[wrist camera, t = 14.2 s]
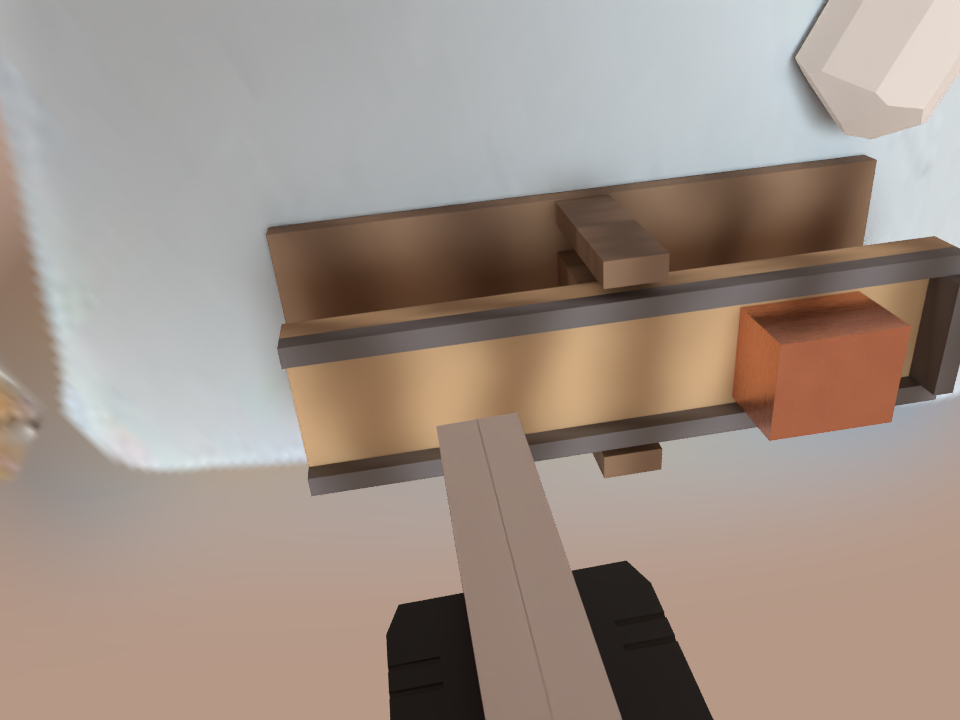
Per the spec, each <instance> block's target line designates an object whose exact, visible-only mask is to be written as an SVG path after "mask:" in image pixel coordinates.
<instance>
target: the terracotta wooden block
mask: <svg viewBox="0 0 960 720" xmlns="http://www.w3.org/2000/svg"><path fill="white" fill-rule="evenodd" d="M911 327H912V326H910V325H909V324H907V323H906V322H904V321H903V320H901V319H900V318H898V317H897V316H895V315H894V314H893V313H891V312H890V311H888V310H887V309H885V308H884V307H882V306H881V305H879V304H878V303H876V302H875V301H873V300H872V299H870V298H869V297H867V296H866V295H864V294H863V293H861V292H860V291H856V292H849V293H841V294H834V295H827V296H819V297H812V298H805V299H797V300H790V301H783V302H775V303H768V304H761V305H753V306H746V307H740V317H739V327H738V338H737V349H736V360H735V370H734V381H733V392H732V397H733V399H734V400H735V401H736V402H737V403H738V404H739V406H740V407H741V408H742V409H743V410H744V412H745V413H746V414H747V415H748V416H749V417H750V419H751V420H752V421H753V422H754V423H755V424H756V426H757V427H758V428H759V429H760V430H761V431H762V433H763V434H764V435H765V436H766V437H767V438H768V440H770V441H771V440H777V439H783V438H790V437H797V436H803V435H810V434H816V433H823V432H830V431H836V430H843V429H849V428H856V427H862V426H868V425H875V424H882V423H888V422H891V421H892V416H893V411H894V407H895V402H896V398H897V393H898V388H899V384H900V379H901V374H902V369H903V365H904V360H905V355H906V351H907V346H908V341H909V336H910V332H911Z"/></svg>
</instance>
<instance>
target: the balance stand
mask: <svg viewBox="0 0 960 720" xmlns="http://www.w3.org/2000/svg"><path fill="white" fill-rule="evenodd" d="M876 162H877V160H876V159H873V158H871V157H868V156H866V155H861V156H852V157H844V158H836V159H828V160H820V161H811V162H803V163H795V164H787V165H779V166H771V167H762V168H754V169H746V170H738V171H730V172H721V173H713V174H705V175H697V176H689V177H681V178H672V179H664V180H656V181H648V182H640V183H631V184H623V185H615V186H607V187H599V188H590V189H582V190H574V191H566V192H558V193H550V194H541V195H533V196H525V197H517V198H509V199H500V200H492V201H484V202H476V203H468V204H460V205H451V206H443V207H435V208H427V209H419V210H410V211H402V212H394V213H386V214H378V215H369V216H361V217H353V218H345V219H337V220H329V221H320V222H312V223H304V224H296V225H288V226H279V227H271V228H268V231H267V234H266V236H267V241H268V245H269V250H270V254H271V259H272V263H273V268H274V272H275V277H276V281H277V286H278V290H279V294H280V299H281V303H282V308H283V312H284V317H285V321H286V324H287V323H294V322H302V321H309V320H317V319H324V318H331V317H339V316H346V315H354V314H361V313H368V312H376V311H383V310H391V309H398V308H406V307H413V306H420V305H428V304H435V303H443V302H450V301H458V300H465V299H472V298H480V297H487V296H495V295H502V294H510V293H517V292H524V291H532V290H539V289H547V288H554V287H562V286H569V285H576V284H584V283H591V282H599V284H600V285H601V286H602V288H603V289H609V288H616V287H624V286H631V285H639V284H646V283H653V282H661V281H668V280H669V272H673V271H680V270H688V269H695V268H703V267H710V266H717V265H725V264H732V263H740V262H747V261H755V260H762V259H769V258H777V257H784V256H792V255H799V254H807V253H814V252H821V251H829V250H836V249H844V248H851V247H858V246H863V241H864V235H865V228H866V222H867V216H868V210H869V204H870V198H871V192H872V186H873V180H874V174H875V168H876ZM593 455H594V457H595V459H596V461H597V463H598V466H599V468H600V470H601V472H602V474H603V476H604V478H609V477H615V476H622V475H628V474H634V473H640V472H647V471H654V470H660V469H661V462H662V448H661V446H660V444H659V443H651V444H645V445H638V446H632V447H625V448H619V449H612V450H606V451H600V452H593Z"/></svg>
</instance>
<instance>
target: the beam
mask: <svg viewBox="0 0 960 720" xmlns="http://www.w3.org/2000/svg"><path fill="white" fill-rule="evenodd" d="M856 291H860V292H861V293H863V294H864V295H866V296H867V297H869V298H870V299H872V300H873V301H875V302H876V303H878V304H879V305H881V306H882V307H884V308H885V309H887V310H888V311H890V312H891V313H893V314H894V315H895V316H897V317H898V318H900V319H901V320H903V321H904V322H906V323H907V324H909V325H910V326H912V327H911V332H910V336H909V341H908V346H907V351H906V355H905V360H904V365H903V369H902V374H901V379H900V384H899V388H898V393H897V398H896V402H895V406H896V405H903V404H909V403H916V402H922V401H928V400H935V399H936V395H940V394H947V393H953V389H954V385H955V381H956V377H957V373H958V369H959V365H960V249H959V248H957V247H955V246H953V245H951V244H949V243H947V242H945V241H943V240H941V239H939V238H937V237H935V236H933V237H925V238H918V239H910V240H903V241H896V242H888V243H881V244H873V245H866V246H858V247H851V248H844V249H836V250H829V251H821V252H814V253H807V254H799V255H792V256H784V257H777V258H769V259H762V260H755V261H747V262H740V263H732V264H725V265H717V266H710V267H703V268H695V269H688V270H680V271H673V272H669V280H668V281H661V282H653V283H646V284H639V285H631V286H624V287H616V288H609V289H603V288H602V286H601V285H600V284H599V282H591V283H584V284H576V285H569V286H562V287H554V288H547V289H539V290H532V291H524V292H517V293H510V294H502V295H495V296H487V297H480V298H472V299H465V300H458V301H450V302H443V303H435V304H428V305H420V306H413V307H406V308H398V309H391V310H383V311H376V312H368V313H361V314H354V315H346V316H339V317H331V318H324V319H317V320H309V321H302V322H294V323H287V324H282V326H281V331H280V337H279V342H278V348H277V350H278V354H279V358H280V363H281V367H282V369H286V370H287V375H288V379H289V383H290V388H291V392H292V396H293V401H294V405H295V409H296V414H297V418H298V422H299V427H300V431H301V435H302V440H303V444H304V448H305V453H306V457H307V461H308V466H309V471H308V482H309V487H310V491H311V495H312V496H316V495H322V494H329V493H335V492H342V491H347V490H354V489H360V488H367V487H374V486H380V485H387V484H393V483H400V482H405V481H412V480H418V479H425V478H432V477H438V476H444V472H443V466H442V460H441V453H440V447H439V441H438V435H437V429H436V426H440V425H446V424H452V423H458V422H464V421H470V420H476V419H482V418H488V417H493V416H499V415H505V414H511V413H518V416H519V419H520V422H521V425H522V428H523V431H524V434H525V437H526V439H527V442H528V445H529V448H530V451H531V454H532V457H533V460H534V462H535V461H541V460H548V459H554V458H560V457H567V456H573V455H580V454H586V453H593V452H600V451H606V450H612V449H619V448H625V447H632V446H638V445H645V444H651V443H658V442H663V441H670V440H676V439H683V438H689V437H696V436H702V435H709V434H715V433H722V432H729V431H735V430H741V429H748V428H754V427H757V426H756V424H755V423H754V422H753V421H752V420H751V419H750V417H749V416H748V415H747V414H746V413H745V412H744V410H743V409H742V408H741V407H740V406H739V404H738V403H737V402H736V401H735V400H734V399H733V397H732V392H733V381H734V370H735V360H736V349H737V338H738V327H739V317H740V307H746V306H753V305H761V304H768V303H775V302H783V301H790V300H797V299H805V298H812V297H819V296H827V295H834V294H841V293H849V292H856Z"/></svg>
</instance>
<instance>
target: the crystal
mask: <svg viewBox="0 0 960 720" xmlns="http://www.w3.org/2000/svg"><path fill="white" fill-rule="evenodd" d="M795 59H796V61H797V63H798V65H799V67H800V68H801V70H802V72H803V74H804V76H805V78H806V79H807V81H808V82H809V84H810V85H811V87H812V88H813V90H814V91H815V93H816V94H817V96H818V97H819V99H820V100H821V102H822V103H823V105H824V106H825V108H826V109H827V111H828V113H829V114H830V116H831V117H832V119H833V120H834V122H835V123H836V124H837V126H838V127H839V128H840V129H841V130H842V131H843V132H844V133H845V134H847V135H852V136H857V137H862V138H867V139H874V138H877V137H880V136H883V135H887V134H890V133H893V132H897V131H900V130H903V129H907V128H910V127H913V126H917V125H920V124H923V123H925V122H927V120H928V119H929V117H930V116H931V114H932V113H933V112H934V110H935V109H936V107H937V106H938V104H939V103H940V101H941V100H942V98H943V97H944V95H945V94H946V92H947V91H948V89H949V88H950V86H951V85H952V83H953V82H954V80H955V79H956V77H957V76H958V74H959V73H960V0H829V1H828V3H827V4H826V6H825V8H824V9H823V11H822V13H821V15H820V16H819V18H818V20H817V21H816V23H815V25H814V26H813V28H812V30H811V32H810V33H809V35H808V37H807V38H806V40H805V42H804V44H803V45H802V47H801V49H800V50H799V52H798V54H797V56H796V57H795Z"/></svg>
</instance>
